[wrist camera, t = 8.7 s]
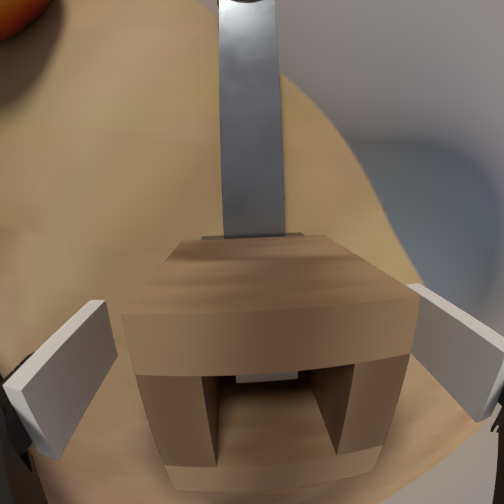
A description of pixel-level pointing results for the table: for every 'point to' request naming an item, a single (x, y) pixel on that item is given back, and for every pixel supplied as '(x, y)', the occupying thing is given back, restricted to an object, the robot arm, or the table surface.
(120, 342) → the table surface
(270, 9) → the grey lever handle
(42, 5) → the fruit
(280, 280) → the socket collar
